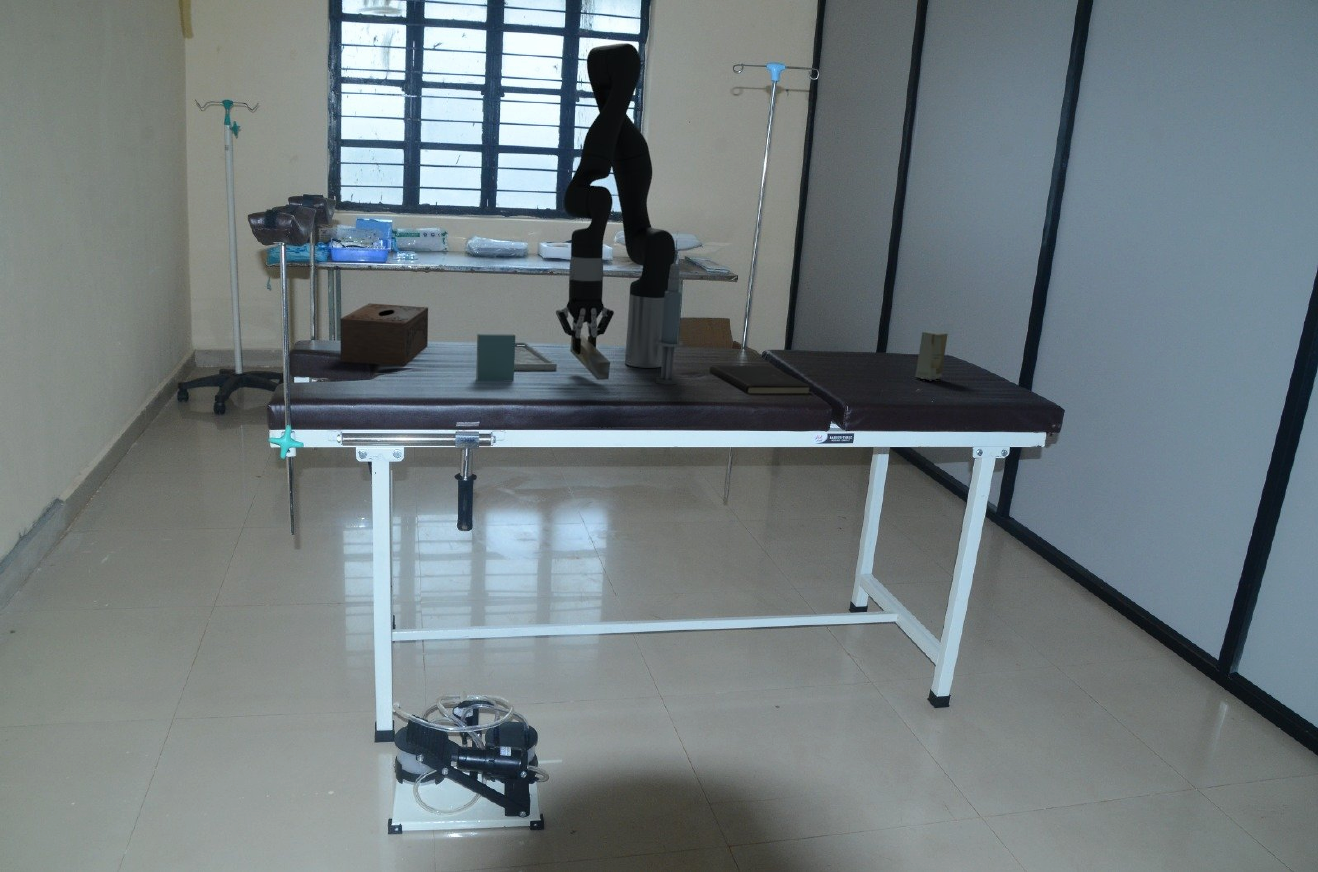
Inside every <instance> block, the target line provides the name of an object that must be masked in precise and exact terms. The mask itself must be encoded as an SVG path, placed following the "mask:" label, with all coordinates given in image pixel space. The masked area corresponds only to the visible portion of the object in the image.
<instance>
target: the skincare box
mask: <svg viewBox="0 0 1318 872" xmlns="http://www.w3.org/2000/svg"><path fill="white" fill-rule="evenodd" d="M948 335H949V334H948V333H946V332H942V331H936V330H930V331H929V330H928V331H922V332H921V337H920V338H921V339H920V344H919V345H920V346H919V350H918V351H919V352H918V357H917V363H916V364H917V366H916V371H915V377H919V378H921V379H937V378H939V377H941V378H942V373H943V367H944V360H945V354H946V353H945V352H946V347H947V343H948V342H947V341H948Z"/></svg>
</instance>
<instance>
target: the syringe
mask: <svg viewBox="0 0 1318 872" xmlns="http://www.w3.org/2000/svg"><path fill="white" fill-rule="evenodd" d="M678 232H679V231H678V230H677V234H678ZM675 242H676V243H675V260H674V264H672V265H671V266H670V274H669V279H668V290H667V291H665V298H664V311H663V325H662V338H661V340H656V341H655V344H656V345H659V346H663V356H662V367H661V370H660V371H661V372H660V376H656V377H655V383H657V384H660V385H675V384H677V380H678V379H677V378H676V377H673V369H674V367H673V366H674V357H675V355H674V353H675V348H681V347H683V346H684V342H682V341H680V340H678V339H679V338H678V334H679V321H680V310H681V309H680V308H681V301H682V300H681V298H682V292H681V291H680V289H679V288H680V265H679V264H677V251H678V250H677V248H678V240H676V241H675Z"/></svg>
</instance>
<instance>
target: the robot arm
mask: <svg viewBox="0 0 1318 872" xmlns="http://www.w3.org/2000/svg"><path fill="white" fill-rule="evenodd" d="M641 69H642V60H641V56H640V54H639V51H638V49H637V48H636V47H635V45H632V44H631V43H627V42H626V43H615V44H607V45H600V46H599V45H598V46H596V47H592V48H591V49H590V50H589V52H588V54H587V58H586V71H587V77H588V80H589V84H590V87H591V90H592V93H593V97H594V101H595V103H596V106H597V110H598V112H599V113H598V115H597V116H596V117H595V119H594V121H593V122H592V123H591V125H590V126H589V129H588V130H587V133H586V135H585V137H584V141H583V144H582V145H583V146H582V151H581V153H580V154H581V155H580V159H579V164H578V166H577V168H576V170H575V172H574V174H573V176H572V178H571V180H570V182H569V183H568V185H567V188H566V189H565V193H564V196H563V206H564V210H565V212H566V213H567V214H568V216H570V217H573V218H578V219H579V218H584V219H591V221H590V224H589V225H588V226H587V227H585V228H579V229H575V230H573V231H572V233H571V237H570V238H571V242H570V244H571V245H570V261H569V272H568V273H569V274H568V275H569V276H568V277H569V278H568V301H567V304H566V306H565V307H564V308H561V309H558V310H556V311H555V314H556V316H557V319H558V321H559V323H560V325H561V328H562V329H563V332H564V333H565V334H566V335H568V336H572V337H573V343H572V349H573V351H575V353H576V354H580V348H581V338H580V335H582V329H583V327H584V324H585V323H586V325H587V326H586V327H587V332H588V336H587V340H588V341H589V342H590V343H591V344H592V345H593V346H594V347H595V348H596V349H597V337H598V336H600V335H604V334H605V332H606V331H607V328H608V326H609V324H610V322H611V321H612V318H613V316H614V315H615V312H614V310H613V309H610V308H607V307H605V305H604V302H603V290H604V289H603V288H604V287H603V285H604V263H603V262H604V261H603V255H604V254H603V253H604V238H605V232H606V229H607V225H608V222H609V218H610V215H611V212H612V209H613V203H614V201H613V196H612V193H611V191H610V190H609V189H608V188H607V187H606V186H603V185H591V184H593V183H594V182H596V181H600V180H603V179H607V178H608V177H610V174H611V171H612V174H613V178H614V181H615V185H616V191H617V197H618V201H619V206H620V211H621V217H622V219H621V220H622V228H623V237H624V245H625V250H626V253H627V256H628V258H629V260H631V261H632V262H633V263H634V264H636V265H638V266H642V270H641V275H640V277H639V278H638V279H636V280H633V281H632V282H630V285H629V299H628V313H627V315H628V317H627V328H626V339H625V340H626V341H625V343H626V344H625V355H624V356H625V358H624V364H625V365H628V366H630V367H636V368H644V369H654V368H662V356H663V346H659V345H656V344H655V341H656V340H661V338H662V325H663V311H664V298H665V291H667V290H668V279H669V274H670V266H671V265H672V264H674V261H675V251H676V243H675V242H676V241H675V238H674V237H673V235H672V234H671V233H670V232H669V231H668V230H664V229H660V228H653V227H652V224H651V220H650V217H649V211H648V196H649V192H650V189H651V188H650V187H651V185H652V179H653V164H652V160H651V155H650V150H649V146H648V142H647V140H646V138H645V136H644V135H643V133H642V132H641V131H640V129H639V128H638V126H636V124H635V123H634V122H633V121H632V120H631V118H630V116H628V114H627V113H628V110H629V107H630V104H631V101H632V99H633V96H634V93H635V91H636V88H637V86H638V84H639V79H640V75H641ZM569 314H570V316H571V317H572V327H571V325H570V322H569V320H568V318H569ZM600 314H601V318H600V320H599V323H598V320H597V319H598V317H599V315H600Z"/></svg>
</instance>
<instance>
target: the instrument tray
mask: <svg viewBox="0 0 1318 872" xmlns="http://www.w3.org/2000/svg"><path fill="white" fill-rule="evenodd" d="M517 345H525V346H517ZM557 365H558V364H557V363H556V362H554V361H553V360H551V359H550V358H548V357H547V356H546V355H544V354H543V353H541V352H540V351H538V349H535V348H534V347H533V346H531V345H530V344H529V343H527V342H526V341H524V342H521V341H520V342H518V341H515V360H514V372H518V371H519V372H523V371H524V372H526V371H528V372H529V371H535V372H537V371H542V372H543V371H557Z"/></svg>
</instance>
